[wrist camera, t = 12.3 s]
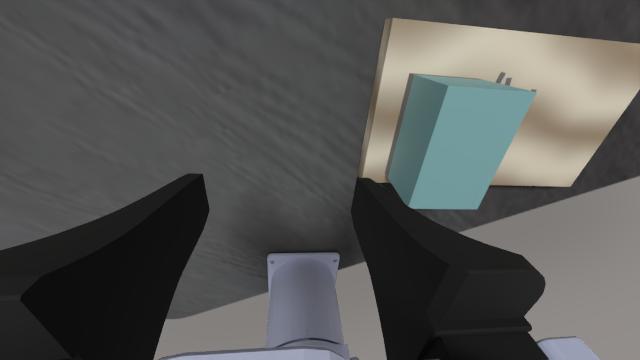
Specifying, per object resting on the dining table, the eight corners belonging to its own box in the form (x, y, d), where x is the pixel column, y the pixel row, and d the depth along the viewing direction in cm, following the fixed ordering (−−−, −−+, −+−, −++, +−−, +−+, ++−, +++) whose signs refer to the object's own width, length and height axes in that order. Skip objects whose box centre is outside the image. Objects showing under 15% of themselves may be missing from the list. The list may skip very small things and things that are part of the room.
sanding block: (440, 174, 22) (477, 209, 17) (384, 173, 21) (407, 208, 17) (477, 78, 17) (536, 92, 13) (409, 73, 17) (448, 85, 13)
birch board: (556, 178, 25) (570, 186, 24) (357, 173, 22) (361, 182, 21) (643, 46, 19) (669, 47, 18) (385, 19, 16) (393, 17, 15)
